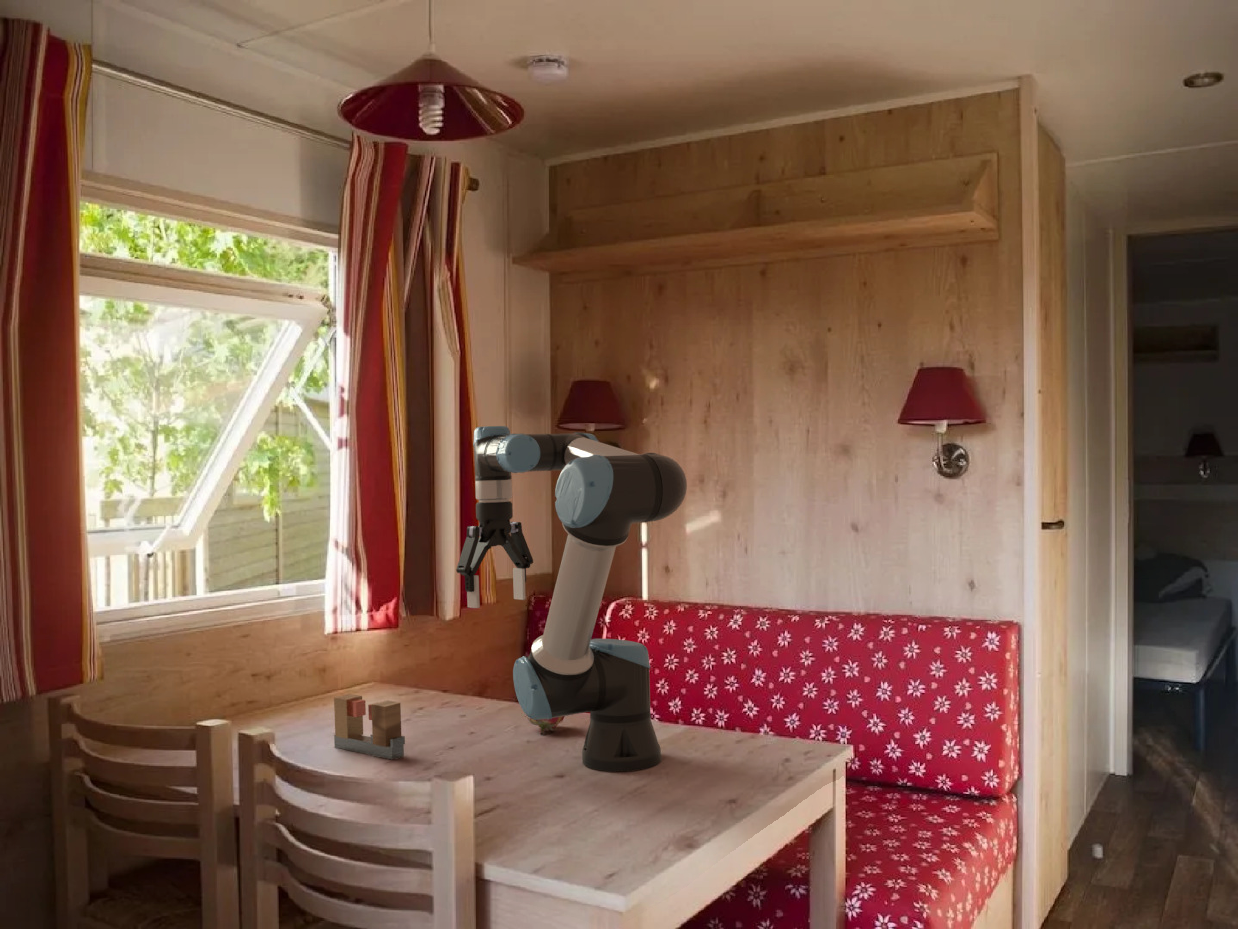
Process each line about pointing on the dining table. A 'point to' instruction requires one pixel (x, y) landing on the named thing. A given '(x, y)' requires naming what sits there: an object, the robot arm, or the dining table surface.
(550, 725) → the flower
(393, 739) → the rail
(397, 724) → the walnut finger
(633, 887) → the dining table surface
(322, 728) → the dining table surface
